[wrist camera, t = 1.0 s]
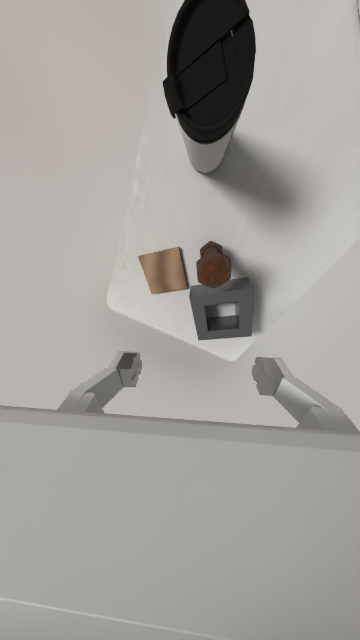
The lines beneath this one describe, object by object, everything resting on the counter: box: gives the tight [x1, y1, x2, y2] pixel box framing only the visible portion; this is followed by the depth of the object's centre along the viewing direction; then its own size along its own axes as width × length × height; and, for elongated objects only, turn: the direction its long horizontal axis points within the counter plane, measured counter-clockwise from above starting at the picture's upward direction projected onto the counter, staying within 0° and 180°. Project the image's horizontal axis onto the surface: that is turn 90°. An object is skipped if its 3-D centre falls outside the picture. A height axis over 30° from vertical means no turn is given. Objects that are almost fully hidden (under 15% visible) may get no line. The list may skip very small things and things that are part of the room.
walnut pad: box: [139, 247, 187, 294], centre depth 40 cm, size 10×10×1 cm
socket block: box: [189, 277, 254, 340], centre depth 41 cm, size 14×14×6 cm
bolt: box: [196, 241, 231, 288], centre depth 30 cm, size 6×5×15 cm
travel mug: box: [163, 0, 256, 173], centre depth 18 cm, size 6×7×20 cm
